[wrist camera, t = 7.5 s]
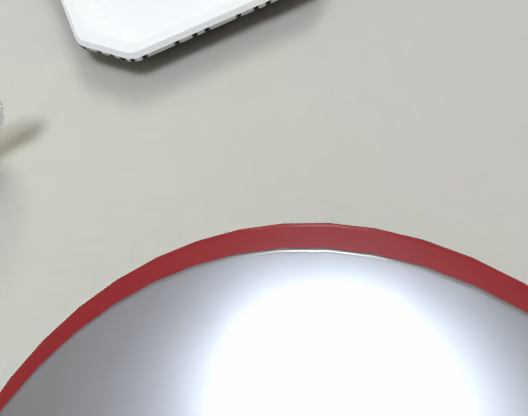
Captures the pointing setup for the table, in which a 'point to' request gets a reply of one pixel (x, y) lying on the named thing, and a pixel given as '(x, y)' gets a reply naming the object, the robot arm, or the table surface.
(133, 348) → the can
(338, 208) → the table surface
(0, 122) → the mug
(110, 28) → the plate
